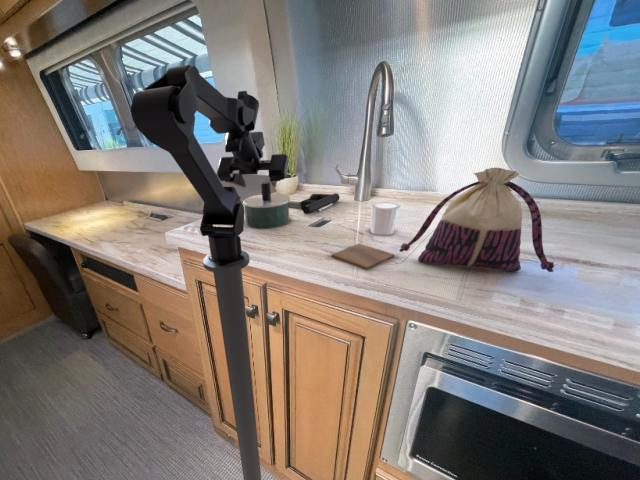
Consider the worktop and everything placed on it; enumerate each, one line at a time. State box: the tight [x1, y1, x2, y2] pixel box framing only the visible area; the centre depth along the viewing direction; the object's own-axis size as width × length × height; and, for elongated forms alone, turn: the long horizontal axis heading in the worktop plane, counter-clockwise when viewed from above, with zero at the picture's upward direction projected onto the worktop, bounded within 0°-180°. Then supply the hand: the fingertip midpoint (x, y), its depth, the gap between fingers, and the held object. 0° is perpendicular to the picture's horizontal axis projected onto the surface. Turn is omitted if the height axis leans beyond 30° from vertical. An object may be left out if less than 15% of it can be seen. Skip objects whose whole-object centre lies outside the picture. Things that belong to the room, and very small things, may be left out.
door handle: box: [289, 192, 340, 215], centre depth 110 cm, size 3×20×16 cm
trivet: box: [331, 243, 396, 270], centre depth 70 cm, size 10×10×1 cm
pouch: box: [398, 167, 555, 273], centre depth 58 cm, size 25×8×19 cm, turn 63°
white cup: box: [370, 201, 401, 236], centre depth 81 cm, size 7×7×7 cm
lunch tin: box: [244, 202, 290, 229], centre depth 98 cm, size 14×14×6 cm
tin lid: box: [242, 181, 291, 208], centre depth 95 cm, size 15×15×6 cm
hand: (260, 186), depth 89 cm, fingers open, 9 cm apart
